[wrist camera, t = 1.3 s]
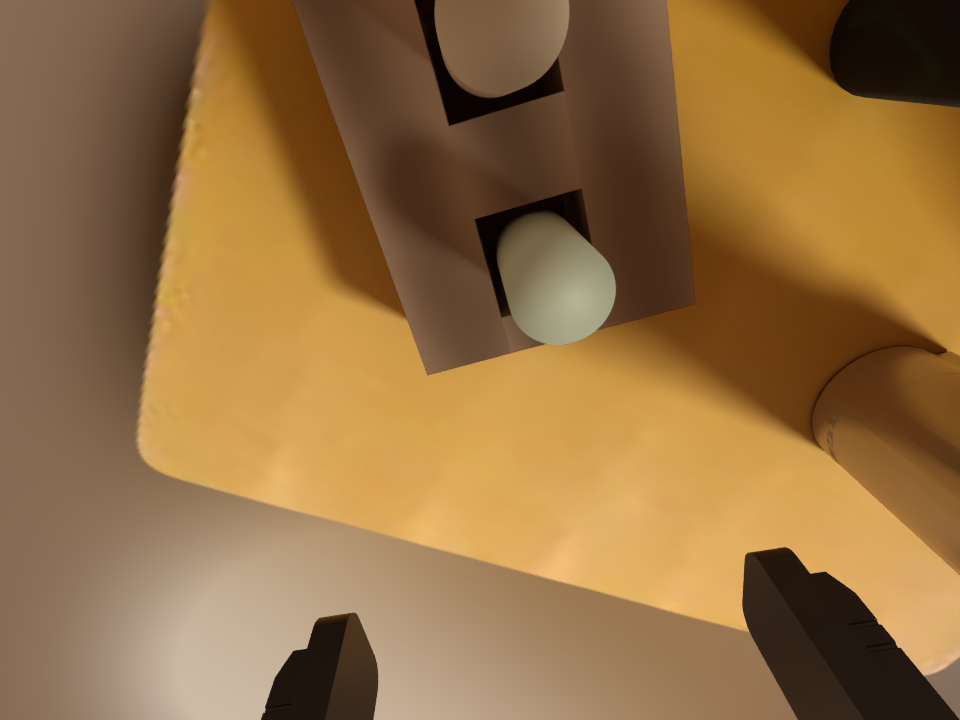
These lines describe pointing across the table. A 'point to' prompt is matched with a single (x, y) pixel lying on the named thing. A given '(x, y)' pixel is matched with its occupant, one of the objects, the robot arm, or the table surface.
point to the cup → (899, 50)
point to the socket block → (509, 163)
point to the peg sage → (553, 278)
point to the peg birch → (499, 42)
